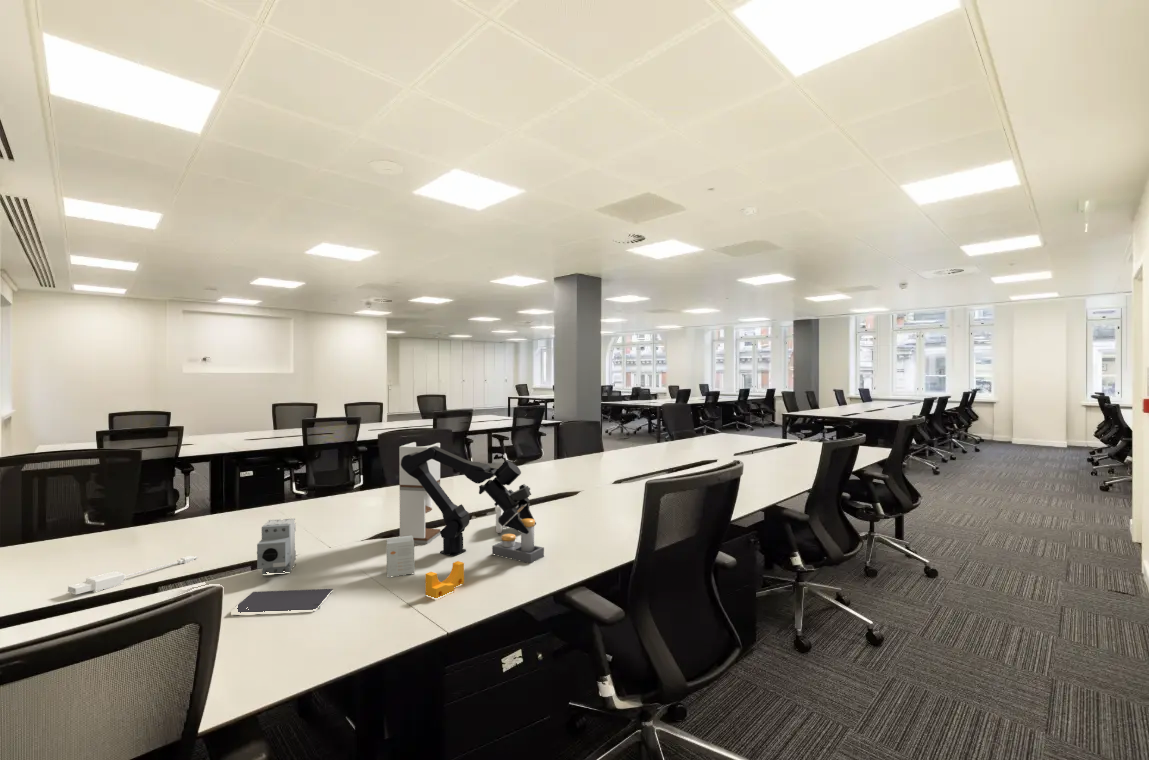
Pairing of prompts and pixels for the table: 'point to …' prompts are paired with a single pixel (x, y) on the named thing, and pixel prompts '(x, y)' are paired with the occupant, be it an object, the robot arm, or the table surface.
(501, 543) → the grey divided tray
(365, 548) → the table surface
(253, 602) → the notebook
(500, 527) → the cable organizer
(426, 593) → the pipe clamp
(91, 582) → the charging cable
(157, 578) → the table surface
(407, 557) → the small box
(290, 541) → the circuit breaker
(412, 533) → the display case
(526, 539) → the plug
